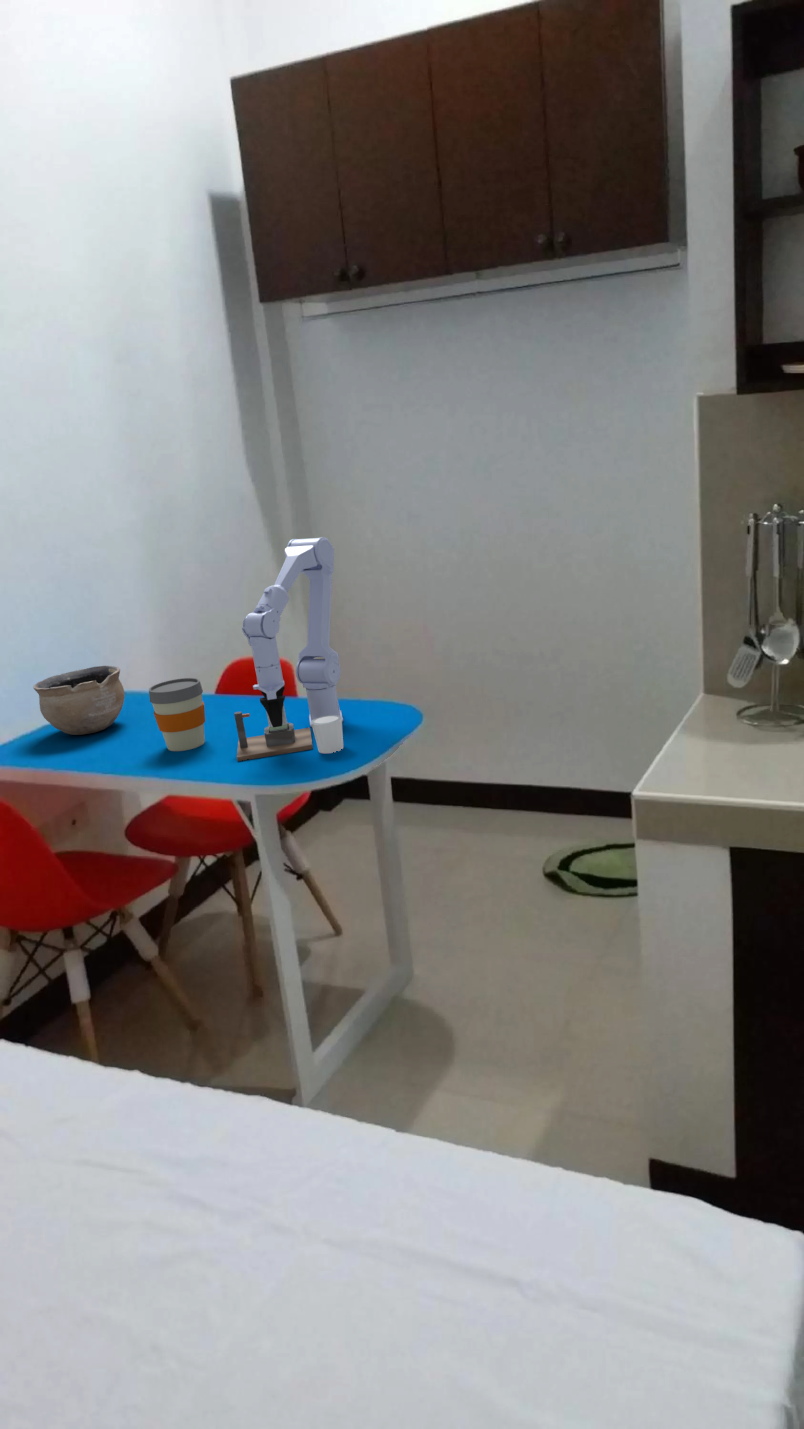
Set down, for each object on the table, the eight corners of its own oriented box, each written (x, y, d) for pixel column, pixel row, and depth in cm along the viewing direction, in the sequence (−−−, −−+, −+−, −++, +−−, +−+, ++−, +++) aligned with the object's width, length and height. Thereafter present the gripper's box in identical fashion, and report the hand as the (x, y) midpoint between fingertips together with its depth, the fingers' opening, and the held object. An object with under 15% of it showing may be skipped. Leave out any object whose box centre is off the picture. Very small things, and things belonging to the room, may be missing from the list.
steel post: (271, 738, 252) (265, 706, 249) (289, 735, 252) (283, 703, 250) (271, 744, 248) (265, 710, 245) (289, 741, 248) (284, 707, 246)
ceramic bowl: (65, 749, 272) (51, 691, 268) (33, 736, 289) (20, 682, 284) (145, 724, 285) (133, 668, 281) (110, 712, 302) (98, 660, 297)
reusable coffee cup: (161, 757, 254) (148, 696, 250) (158, 743, 265) (146, 684, 261) (215, 746, 256) (203, 685, 252) (209, 732, 268) (198, 674, 264)
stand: (239, 743, 256) (232, 706, 254) (310, 731, 257) (304, 694, 255) (237, 761, 243) (230, 722, 240) (312, 748, 244) (306, 709, 241)
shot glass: (312, 749, 244) (307, 719, 242) (340, 742, 246) (336, 712, 244) (320, 756, 238) (315, 726, 236) (350, 749, 240) (345, 719, 238)
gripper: (250, 660, 251) (260, 716, 255) (249, 674, 238) (259, 733, 241) (280, 655, 252) (290, 711, 256) (281, 669, 238) (291, 728, 242)
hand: (277, 721), depth 249 cm, fingers open, 7 cm apart
